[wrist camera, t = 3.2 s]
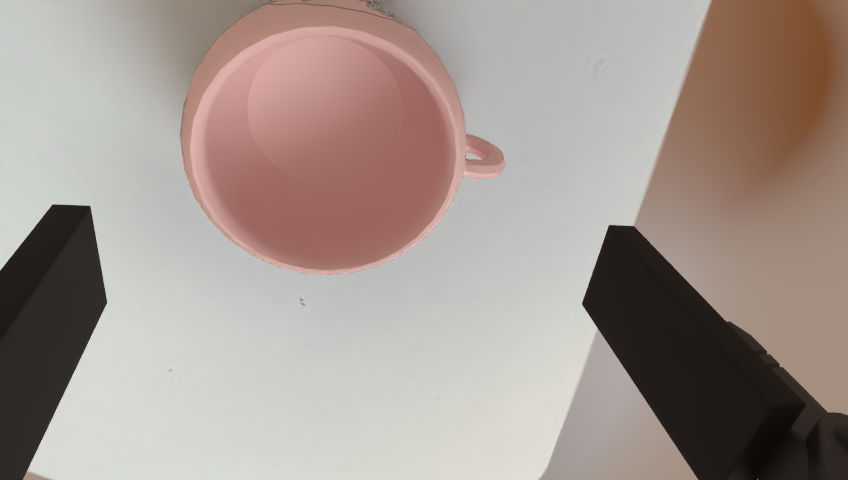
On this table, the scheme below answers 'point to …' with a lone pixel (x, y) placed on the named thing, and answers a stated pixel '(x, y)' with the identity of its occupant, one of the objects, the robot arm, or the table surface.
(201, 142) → the mug
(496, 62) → the table surface
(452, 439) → the table surface
